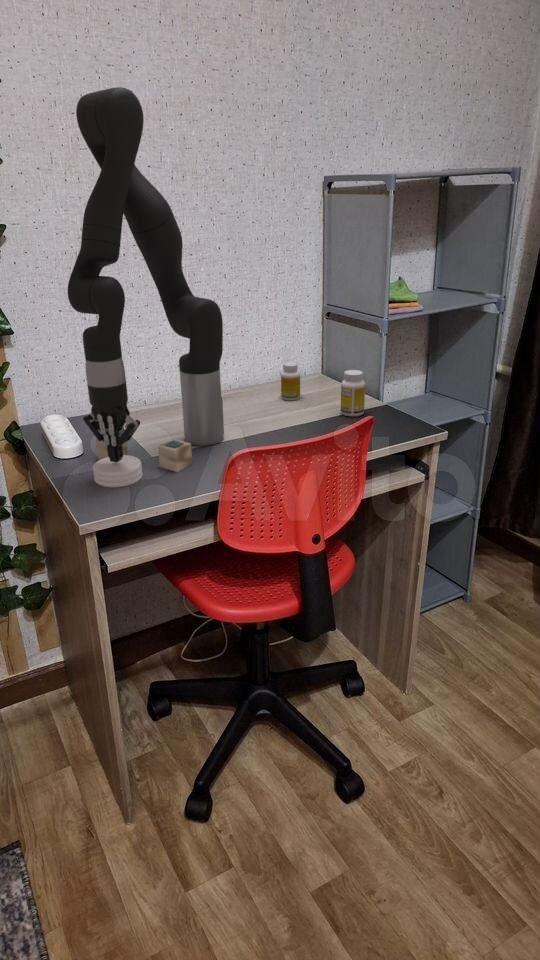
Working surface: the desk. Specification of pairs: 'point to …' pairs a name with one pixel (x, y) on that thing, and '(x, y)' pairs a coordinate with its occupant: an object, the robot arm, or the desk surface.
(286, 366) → the supplement bottle
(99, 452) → the marked block
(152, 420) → the desk surface
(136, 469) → the white round container
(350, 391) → the pill bottle
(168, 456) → the marked block
